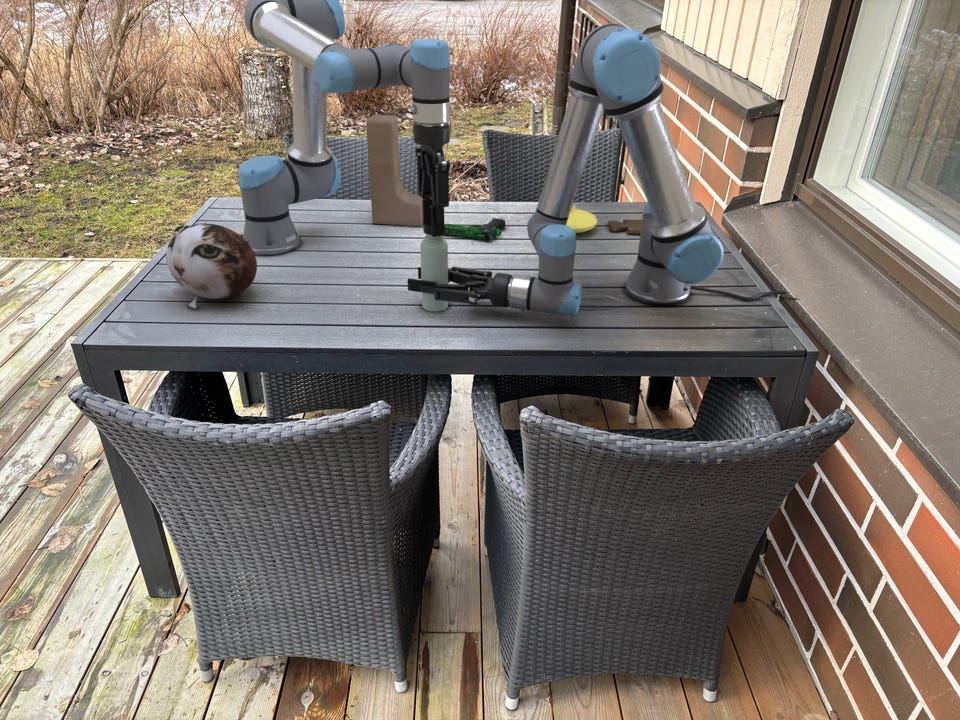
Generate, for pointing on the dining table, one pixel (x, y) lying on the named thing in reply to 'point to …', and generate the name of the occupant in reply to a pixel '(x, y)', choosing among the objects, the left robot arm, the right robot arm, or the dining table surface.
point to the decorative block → (389, 176)
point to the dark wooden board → (626, 226)
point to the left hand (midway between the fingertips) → (433, 231)
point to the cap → (427, 227)
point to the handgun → (477, 230)
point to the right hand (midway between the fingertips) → (413, 278)
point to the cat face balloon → (211, 261)
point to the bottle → (434, 269)
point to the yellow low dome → (581, 220)
